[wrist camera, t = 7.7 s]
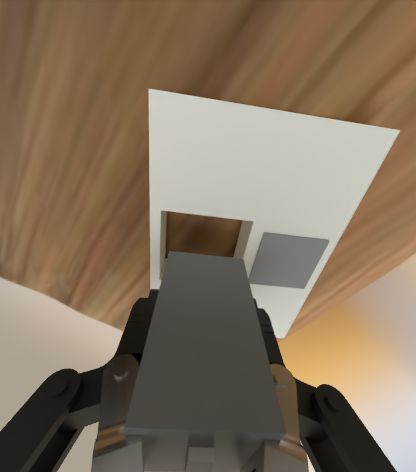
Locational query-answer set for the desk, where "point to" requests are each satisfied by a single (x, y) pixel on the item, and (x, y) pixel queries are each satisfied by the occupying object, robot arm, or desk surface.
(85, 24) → the desk surface
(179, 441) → the charger
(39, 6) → the desk surface
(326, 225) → the outlet plate
